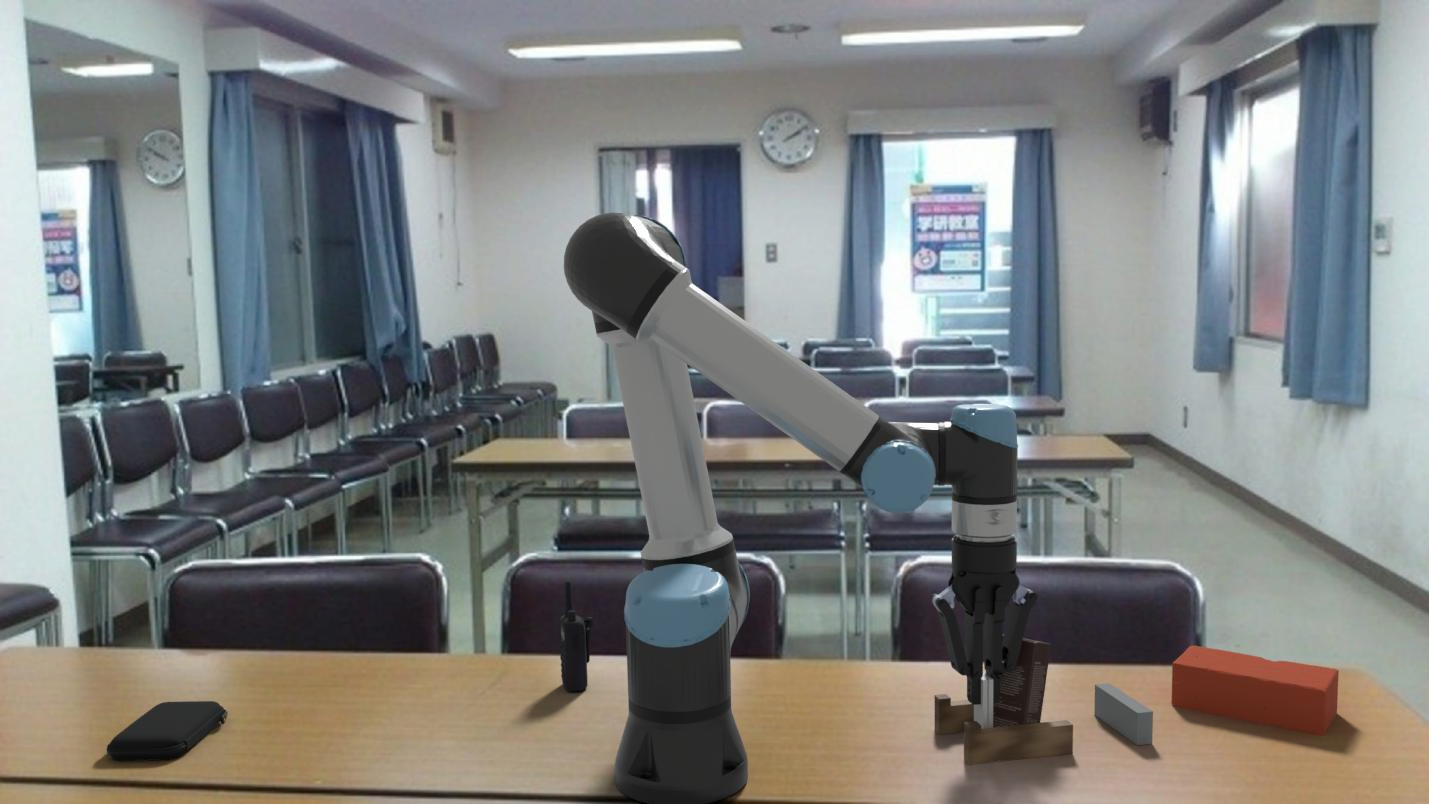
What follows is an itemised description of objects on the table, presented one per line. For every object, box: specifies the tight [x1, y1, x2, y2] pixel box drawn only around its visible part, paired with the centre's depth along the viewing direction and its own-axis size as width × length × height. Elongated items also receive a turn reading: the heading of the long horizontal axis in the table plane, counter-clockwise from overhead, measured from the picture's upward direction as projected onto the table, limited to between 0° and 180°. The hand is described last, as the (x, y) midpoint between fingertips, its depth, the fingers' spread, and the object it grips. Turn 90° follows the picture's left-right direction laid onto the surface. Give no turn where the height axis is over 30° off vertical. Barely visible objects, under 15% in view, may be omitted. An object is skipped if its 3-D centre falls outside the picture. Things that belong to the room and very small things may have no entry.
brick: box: [1171, 645, 1340, 736], centre depth 151 cm, size 18×9×6 cm, turn 53°
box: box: [993, 633, 1052, 727], centre depth 143 cm, size 6×4×12 cm
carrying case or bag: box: [106, 700, 228, 762], centre depth 149 cm, size 11×3×15 cm
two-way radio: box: [559, 579, 594, 692], centre depth 164 cm, size 6×4×15 cm
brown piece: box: [934, 693, 1074, 765], centre depth 142 cm, size 13×11×4 cm
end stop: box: [1093, 682, 1154, 746], centre depth 146 cm, size 2×10×4 cm, turn 11°
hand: (983, 728), depth 141 cm, fingers closed
